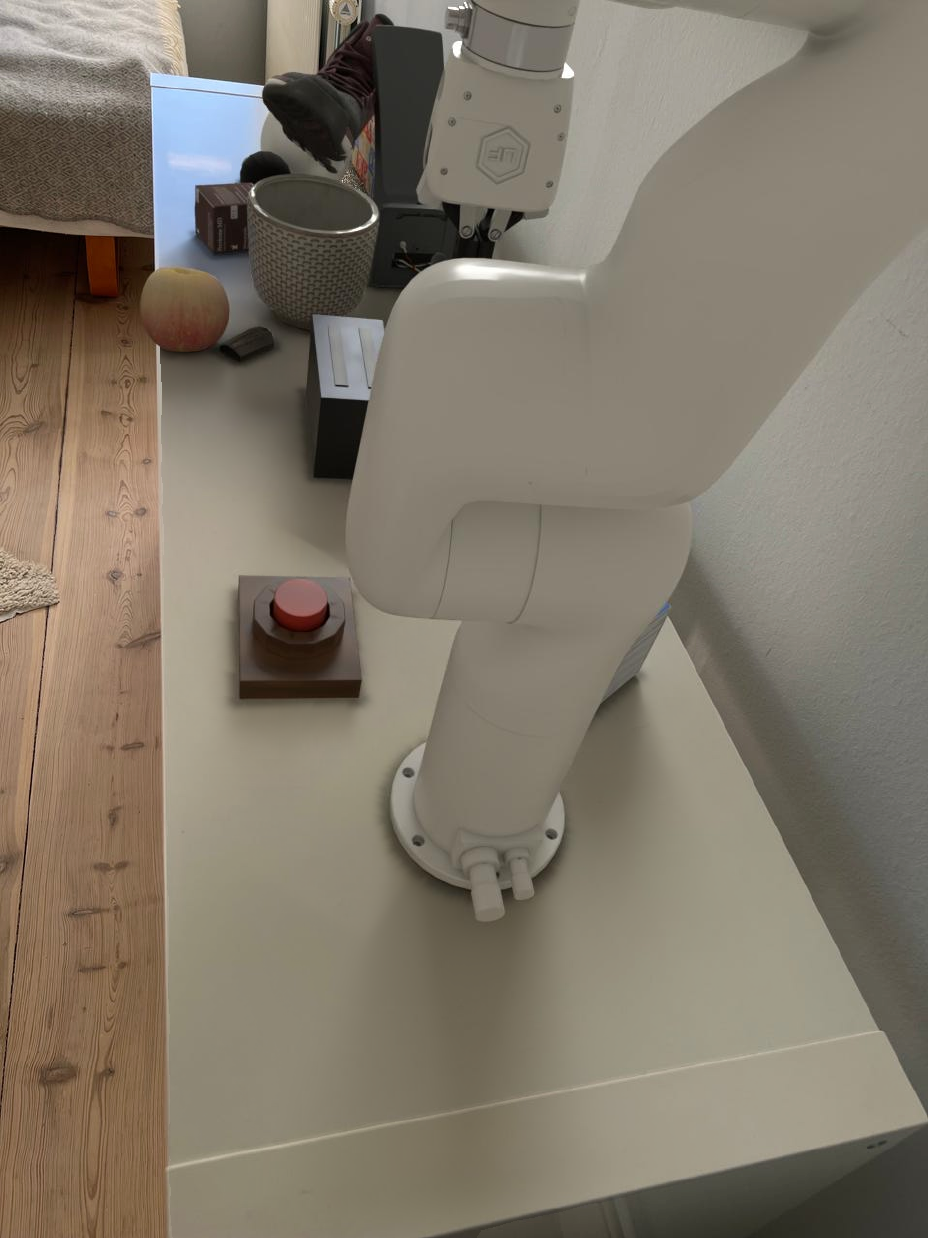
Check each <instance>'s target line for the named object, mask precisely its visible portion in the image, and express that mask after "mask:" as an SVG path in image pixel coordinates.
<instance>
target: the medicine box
mask: <svg viewBox="0 0 928 1238" xmlns="http://www.w3.org/2000/svg"><path fill="white" fill-rule="evenodd" d="M671 609H672V606H671V604H669V603H668V602H667V603H666V604H665V606H664V607H663V608H662V610H661V611H660V612H659V613H658V615H657V616H656V617H655V618H654V620H653V621H652V622H651V623H650V624H649V625H648V627H647V628H646V629H645V630H644V631H643V632H642V634H641V635H640V636H639V637H638V638H637V639H636V641H635V642H634V643H633V645H632V646H631V647H630V649H629V650H628V652H627V653H626V655H625V656H624V658H623V660H622V661H621V663H620V665H619V667H618V668H617V670H616V672H615V674H614V676H613V678H612V680H611V682H610V684H609V686H608V688H607V690H606V692H605V694H604V696H603V699H602V701H601V703H600V705H601V704H603V702H605V701H606V700H607V699H608V698H610V697H611V696H612V695H613V694H614V693H616V691H618V689H620V688H621V687H622V686H624V685H625V684H626V683H627V682H628V681H629V680H631V679H632V678H633V677H634V676H636V675H637V674H639V672H640V671H641V668H642V667H643V665H644V663H645V661H646V660H647V658H648V656H649V653H650V651H651V650H652V648H653V646H654V644H655V641H656V640H657V638H658V636H659V634H660V632H661V631H662V628H663V626H664V624H665V622H666V620H667V618H668V616H669V614H670V612H671Z"/></svg>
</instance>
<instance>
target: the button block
mask: <svg viewBox="0 0 928 1238" xmlns="http://www.w3.org/2000/svg"><path fill="white" fill-rule="evenodd" d="M294 579H304V580H309V581H312V582H314V583H316V584H318V585H319V586H321V587H322V588H323V589H324V591H325V592H326V594H327V598H328V601H327V609H326V617H325V620H324V622H323V623H322V624H321V625H320V626H319V627H317V628H316V629H314V630H311V631H307V632H295V631H291V630H288V629H286V628H284V627H282V626H281V625H280V624H279V623H278V622H277V621H276V619H275V617H274V614H273V607H274V594H275V591H276V590H277V588H278V587H279V586H280V585H281V584H283V583H284V582H287V581H289V580H294ZM237 585H238V587H237V588H238V589H237V599H238V600H237V605H238V608H237V610H238V611H237V612H238V613H237V616H238V699H239V700H279V699H281V700H286V699H287V700H290V699H294V700H295V699H359V698H360V693H361V687H362V682H363V677H362V669H361V668H362V667H361V660H360V659H361V658H360V652H359V650H360V649H359V644H358V643H359V642H358V633H357V625H356V616H355V609H354V599H353V592H352V591H353V589H352V583H351V576H350V577H348V576H346V577H345V576H344V577H343V576H341V577H340V576H335V577H334V576H298V575H297V576H295V575H294V576H293V575H292V576H291V575H248V574H247V575H243V574H242V575H240V574H239V575H238V584H237Z"/></svg>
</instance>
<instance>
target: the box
mask: <svg viewBox="0 0 928 1238" xmlns="http://www.w3.org/2000/svg"><path fill="white" fill-rule="evenodd" d="M252 186H253V184H252V183H240V182H234V183H216V184H215V183H214V184H196V185H195V186H194V225H195V226H194V227H195V235H196V236H197V238H199V239H200V241H201V242H202V243H203V244H204V246H205V247H206V248H207V249H208V250H209V251H210V253H211V254H212V255H213V256H217V255H229V254H238V253H249V249H248V225H247V198H248V193H249V191H250V189H251V187H252Z"/></svg>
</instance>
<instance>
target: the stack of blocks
mask: <svg viewBox="0 0 928 1238" xmlns="http://www.w3.org/2000/svg"><path fill="white" fill-rule="evenodd" d="M350 163H351V164H352V166H353V168H354V170H355V171H356V173H357V174H358V176H359V178H360V180H361V181H362V184H363V185H364V187H365V190H366V193H367V195H368V196H369V197H370V198H371V199H372V200H373V193H374V174H375V126H374V115H373V117H372V119H371V120H370V121H369V123H368V124H367V125H366V127H365V128H364V130H363V131H362V133H361V134H360V136H359V137H358V138H357V140H356V141H355V147H354V151H353V153H352V158H351V162H350Z"/></svg>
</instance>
